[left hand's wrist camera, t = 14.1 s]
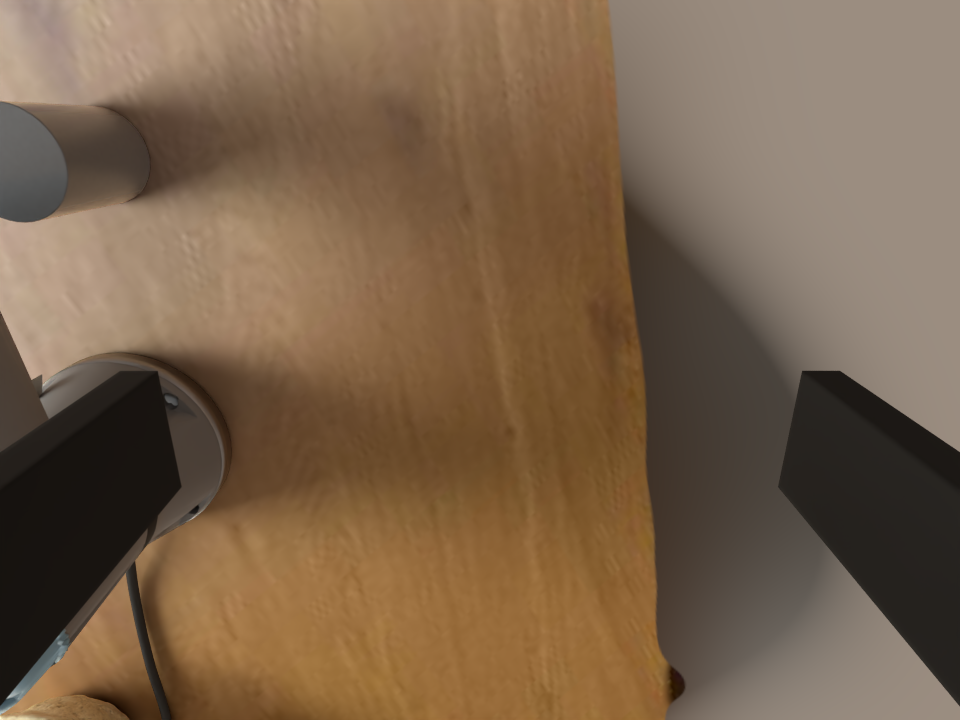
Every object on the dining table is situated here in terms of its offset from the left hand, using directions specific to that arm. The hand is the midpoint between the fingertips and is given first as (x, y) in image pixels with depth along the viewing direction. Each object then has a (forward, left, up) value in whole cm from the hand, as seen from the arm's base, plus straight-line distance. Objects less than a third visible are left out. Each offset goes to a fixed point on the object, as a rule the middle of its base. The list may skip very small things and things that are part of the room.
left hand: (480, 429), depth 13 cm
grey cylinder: (+4, +26, -33) cm, 42 cm away
